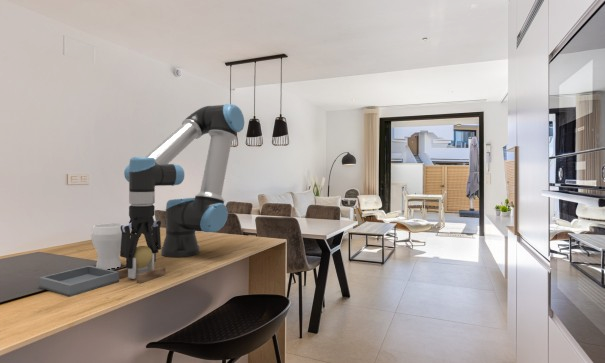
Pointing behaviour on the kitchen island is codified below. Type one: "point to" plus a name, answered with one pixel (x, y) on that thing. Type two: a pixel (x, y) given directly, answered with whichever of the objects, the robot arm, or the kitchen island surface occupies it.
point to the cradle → (143, 274)
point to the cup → (107, 244)
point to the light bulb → (142, 258)
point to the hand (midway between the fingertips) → (141, 275)
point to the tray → (78, 280)
